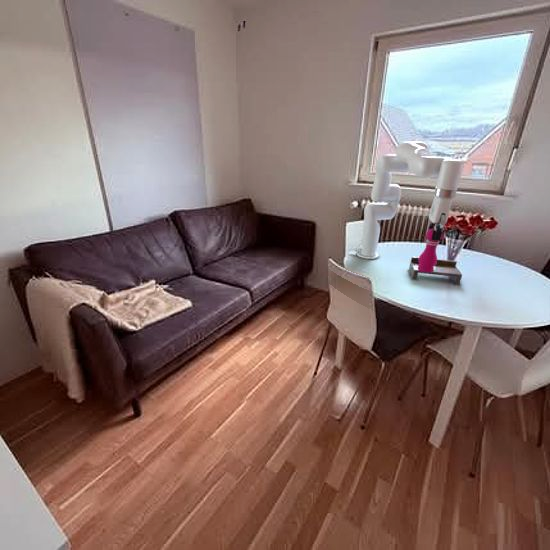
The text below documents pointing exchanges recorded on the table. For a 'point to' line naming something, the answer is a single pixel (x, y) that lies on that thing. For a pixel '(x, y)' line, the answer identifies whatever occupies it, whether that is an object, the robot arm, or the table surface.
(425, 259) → the pepper mill
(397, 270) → the table surface
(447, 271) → the shelf
